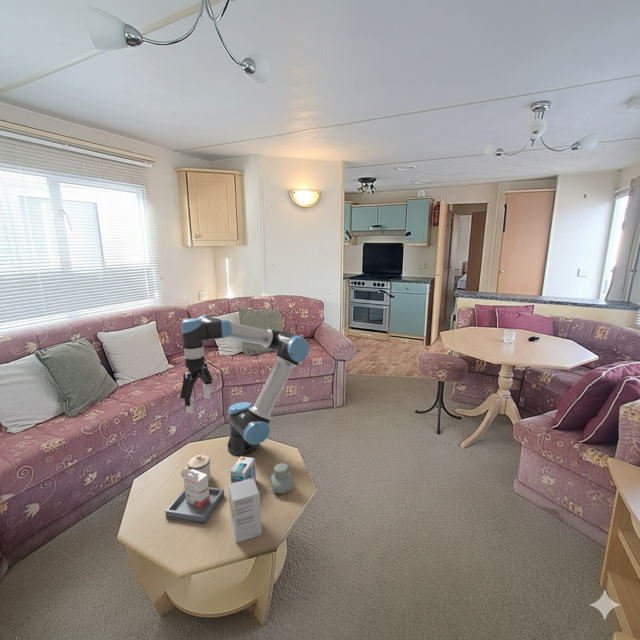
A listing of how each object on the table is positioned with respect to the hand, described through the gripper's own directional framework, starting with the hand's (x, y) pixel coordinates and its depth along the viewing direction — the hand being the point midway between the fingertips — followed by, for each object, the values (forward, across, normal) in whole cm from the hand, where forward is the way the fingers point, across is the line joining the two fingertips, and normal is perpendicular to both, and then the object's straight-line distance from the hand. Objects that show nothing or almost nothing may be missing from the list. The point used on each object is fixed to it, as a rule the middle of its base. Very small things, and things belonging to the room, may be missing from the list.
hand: (199, 405), depth 143 cm
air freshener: (+35, 0, +35) cm, 49 cm away
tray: (+35, +16, +5) cm, 39 cm away
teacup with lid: (+35, +2, -3) cm, 35 cm away
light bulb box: (+35, +2, +19) cm, 40 cm away
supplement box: (+35, +23, +29) cm, 51 cm away
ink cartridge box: (+34, +14, +5) cm, 37 cm away
